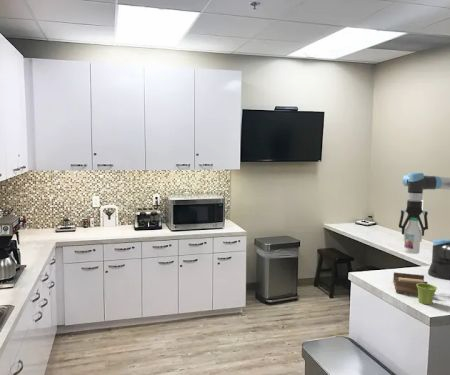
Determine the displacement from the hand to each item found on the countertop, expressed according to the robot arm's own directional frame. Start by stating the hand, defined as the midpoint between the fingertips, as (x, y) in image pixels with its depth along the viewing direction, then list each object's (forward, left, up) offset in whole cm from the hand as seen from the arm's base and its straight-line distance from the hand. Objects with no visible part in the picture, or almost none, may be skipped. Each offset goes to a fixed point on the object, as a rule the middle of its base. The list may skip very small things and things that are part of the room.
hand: (412, 240), depth 228 cm
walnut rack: (+4, 0, -27) cm, 27 cm away
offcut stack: (+10, 0, -27) cm, 29 cm away
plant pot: (+23, +5, -27) cm, 36 cm away
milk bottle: (0, 0, -7) cm, 7 cm away
